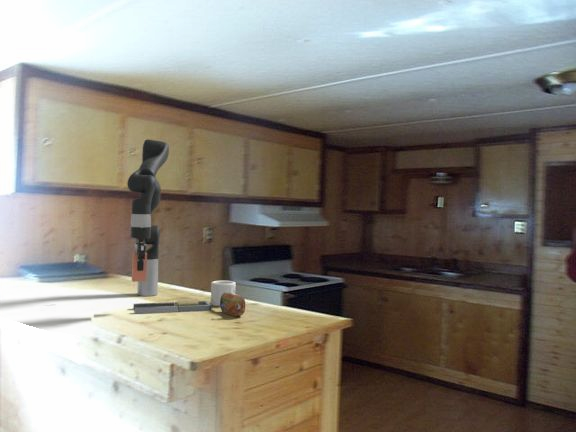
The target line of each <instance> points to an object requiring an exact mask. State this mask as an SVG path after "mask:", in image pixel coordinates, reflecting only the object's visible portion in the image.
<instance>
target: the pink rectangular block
mask: <svg viewBox="0 0 576 432" xmlns="http://www.w3.org/2000/svg"><path fill="white" fill-rule="evenodd" d="M140 257H143V255H140ZM131 260H132V263H131V266H132V267H131V281H132V282H137V283H138V282H144V281H146V269H147V253H146V254H145V260H144V266H143V271H138V270H137V262H138V261H137V255H136V252H135V251H133V252H132V259H131Z"/></svg>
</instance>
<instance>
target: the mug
mask: <svg viewBox="0 0 576 432" xmlns="http://www.w3.org/2000/svg"><path fill="white" fill-rule="evenodd" d="M236 284H237V283H236V282H235V281H232V280H215V281H211V283H210V304H211V305H212V306H214V307H220V299H221V296H222V295H223V294H224V293H232V294H236V286H237V285H236ZM220 308H221V307H220Z"/></svg>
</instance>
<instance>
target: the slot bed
mask: <svg viewBox="0 0 576 432" xmlns="http://www.w3.org/2000/svg"><path fill="white" fill-rule="evenodd" d="M132 306H133V307H132V308H133V311H134V314H135V315H139V314H141V315H142V314H159V313H160V314H162V313H163V314H165V313H179V312H178V307H177V306H175V302H174V301H170V302H169V301H168V302H144V303H143V302H140V303H133V305H132Z"/></svg>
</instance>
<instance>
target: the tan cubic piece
mask: <svg viewBox="0 0 576 432" xmlns="http://www.w3.org/2000/svg"><path fill="white" fill-rule="evenodd" d="M176 302H177V307H178V306H188V304H189V301H188V300H187V298H184V299H183V298H182V299H176Z"/></svg>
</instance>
